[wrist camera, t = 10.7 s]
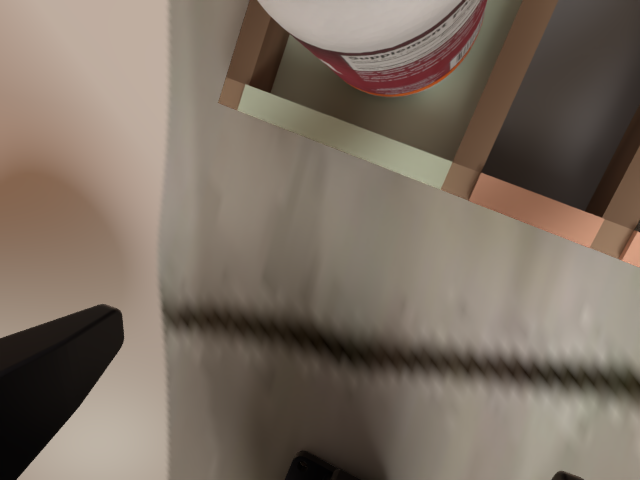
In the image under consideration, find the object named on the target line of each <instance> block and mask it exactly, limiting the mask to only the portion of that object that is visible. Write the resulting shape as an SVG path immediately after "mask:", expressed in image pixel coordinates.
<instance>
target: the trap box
mask: <svg viewBox="0 0 640 480" xmlns="http://www.w3.org/2000/svg"><path fill="white" fill-rule="evenodd" d="M218 103H220V104H222V105H225V106H227V107H230V108H233V109H235V110H237V111H240V112H242V113H245V114H247V115H250V116H252V117H255V118H258V119H260V120H263V121H265V122H268V123H270V124H273V125H276V126H278V127H281V128H283V129H286V130H288V131H291V132H293V133H296V134H299V135H301V136H304V137H306V138H309V139H311V140H314V141H317V142H319V143H322V144H324V145H327V146H329V147H332V148H335V149H337V150H340V151H342V152H345V153H347V154H350V155H352V156H355V157H358V158H360V159H363V160H365V161H368V162H370V163H373V164H376V165H378V166H381V167H383V168H386V169H388V170H391V171H394V172H396V173H399V174H401V175H404V176H406V177H409V178H411V179H414V180H417V181H419V182H422V183H424V184H427V185H429V186H432V187H435V188H437V189H440V190H443V191H446V192H448V193H451V194H453V195H456V196H458V197H461V198H463V199H466V200H468V201H470V202H473V203H476V204H478V205H481V206H483V207H486V208H488V209H491V210H494V211H496V212H499V213H501V214H504V215H506V216H509V217H512V218H514V219H517V220H519V221H522V222H524V223H527V224H529V225H532V226H535V227H537V228H540V229H542V230H545V231H547V232H550V233H553V234H555V235H558V236H560V237H563V238H565V239H568V240H571V241H573V242H576V243H578V244H581V245H583V246H586V247H588V248H592V249H594V250H597V251H599V252H602V253H605V254H607V255H610V256H612V257H615V258H617V259H620V260H622V261H624V262H627V263H630V264H632V265H635V266H637V267H640V232H638V231H635V228H636V226H637V224H638V222H639V220H640V0H487V4H486V8H485V14H484V18H483V22H482V26H481V28H480V31H479V34H478V36H477V38H476V40H475V43H474V44H473V46H472V48H471V50H470V51H469V53H468V55H467V56H466V57H465V59H464V60H463V61H462V63H461V64H460V65H459V66H458V67H457V68H456V69H455V70H454V71H453V72H452V73H451V74H450V75H449V76H448V77H446V78H445V79H444V80H443V81H441V82H440V83H438V84H436V85H435V86H433V87H431V88H429V89H427V90H425V91H422V92H420V93H417V94H413V95H409V96H404V97H380V96H375V95H371V94H368V93H365V92H363V91H360V90H358V89H356V88H354V87H352V86H351V85H349V84H348V83H346V82H345V81H344V80H342V79H341V78H340V77H339V76H338V75H337V74H336V73H334V72H333V71H332V70H331V69H330V68H329V67H328V66H327V65H325V64H324V63H323V62H322V61H321V60H320V59H319V58H317V57H316V56H315V55H314V54H313V53H311V52H310V51H309V50H308V49H307V48H306V47H304V46H303V45H302V44H301V43H300V42H299V41H297V40H296V39H295V38H294V37H293V36H292V35H290V34H289V33H288V32H287V31H286V30H285V29H284V28H282V27H281V26H280V25H279V24H278V23H277V22H276V21H275V20H274V19H273V18H272V17H271V16H270V15H269V14H268V13H267V12H266V11H265V10H264V8H263V7H262V6H261V4H260V3H259V2H258V1H257V0H250V1H249V4H248V8H247V11H246V14H245V17H244V21H243V24H242V27H241V30H240V34H239V37H238V40H237V43H236V46H235V50H234V53H233V56H232V59H231V63H230V66H229V69H228V72H227V76H226V79H225V82H224V85H223V89H222V92H221V95H220V98H219V102H218Z"/></svg>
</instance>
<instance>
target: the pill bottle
mask: <svg viewBox="0 0 640 480" xmlns="http://www.w3.org/2000/svg"><path fill="white" fill-rule="evenodd" d="M257 1H258V2H259V3H260V4H261V6H262V7H263V8H264V10H265V11H266V12H267V13H268V14H269V15H270V16H271V17H272V18H273V19H274V20H275V21H276V22H277V23H278V24H279V25H280V26H281V27H282V28H284V29H285V30H286V31H287V32H288V33H289V34H290V35H292V36H293V37H294V38H295V39H296V40H297V41H299V42H300V43H301V44H302V45H303V46H304V47H306V48H307V49H308V50H309V51H310V52H311V53H313V54H314V55H315V56H316V57H317V58H319V59H320V60H321V61H322V62H323V63H324V64H325V65H327V66H328V67H329V68H330V69H331V70H332V71H333V72H334V73H336V74H337V75H338V76H339V77H340V78H341V79H342V80H344V81H345V82H346V83H348V84H349V85H351V86H352V87H354V88H356V89H358V90H360V91H363V92H365V93H368V94H371V95H375V96H380V97H404V96H409V95H413V94H417V93H420V92H422V91H425V90H427V89H429V88H431V87H433V86H435V85H436V84H438V83H440V82H441V81H443V80H444V79H445V78H446V77H448V76H449V75H450V74H451V73H452V72H453V71H454V70H455V69H456V68H457V67H458V66H459V65H460V64H461V63H462V61H463V60H464V59H465V57H466V56H467V55H468V53H469V51H470V50H471V48H472V46H473V44H474V43H475V40H476V38H477V36H478V34H479V31H480V28H481V26H482V22H483V18H484V14H485V8H486V4H487V0H257Z"/></svg>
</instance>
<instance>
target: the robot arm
mask: <svg viewBox="0 0 640 480" xmlns="http://www.w3.org/2000/svg"><path fill="white" fill-rule="evenodd" d="M123 341H124V330H123V320H122V313H121V311H120V310H119V309H117V308H114V307H111V306H109V305H106V304H101V305H97V306H94V307H91V308H88V309H85V310H82V311H79V312H76V313H73V314H70V315H67V316H65V317H62V318H59V319H56V320H53V321H50V322H47V323H44V324H41V325H38V326H35V327H32V328H29V329H26V330H24V331H20V332H17V333H15V334H12V335H9V336H6V337H3V338H0V480H17V478H18V477H19V476H20V475H21V474H22V473H23V471H24V470H25V469H26V468H27V467H28V466H29V464H30V463H31V462H32V461H33V460H34V459H35V457H36V456H37V455H38V454H39V453H40V451H41V450H42V449H43V448H44V447H45V446H46V445H47V444H48V442H49V441H50V440H51V439H52V438H53V436H55V434H56V433H57V432H58V431H59V429H60V428H61V427H62V426H63V425H64V424H65V422H67V420H68V419H69V418H70V417H71V415H72V414H73V413H74V412H75V411H76V410H77V408H78V407H79V406H80V405H81V403H82V402H83V400H84V399H85V398H86V396H87V395H88V393H89V392H90V391H91V389H92V388H93V387H94V385H95V384H96V382H97V381H98V380H99V378H100V376H101V375H102V374H103V373H104V371H105V369H106V368H107V366H108V365H109V364H110V363H111V361H112V360H113V358H114V357H115V355H116V354H117V353H118V351H119V350H120V348H121V346H122V344H123ZM300 461H303V462H305V463H306V464H307V466H306V467H305V466H303V465H302V464H301V463H300ZM285 480H360V479H358V478H357V477H355V476H353V475H351V474H349V473H347V472H346V471H344V470H342V469H338V468H337V467H335V466H333V465H331V464H329V463H327V462H325V461H324V460H322V459H320V458H318V457H316V456H314V455H312V454H311V453H309V452H306V451H301V452H299V453H297V454H296V456H295V458H294V459H293V461H292V464H291V466H290V468H289V471H288V473H287V476H286V478H285ZM552 480H584V479H582V478H581V477H578V476H575V475H573V474H570V473H567V472H564V471H559V472H557V473H556V474H555V475H554V477H553V478H552Z"/></svg>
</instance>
